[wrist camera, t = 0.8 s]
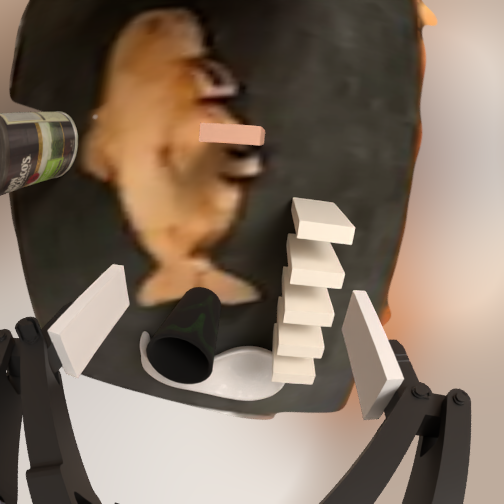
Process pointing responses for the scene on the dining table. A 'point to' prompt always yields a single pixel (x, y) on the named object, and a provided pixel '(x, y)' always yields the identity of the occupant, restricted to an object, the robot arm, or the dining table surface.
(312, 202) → the tile
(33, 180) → the coffee can
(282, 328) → the tile
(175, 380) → the cup
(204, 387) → the spoon rest
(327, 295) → the tile
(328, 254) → the tile
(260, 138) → the tile
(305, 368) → the cream flat rectangular block
